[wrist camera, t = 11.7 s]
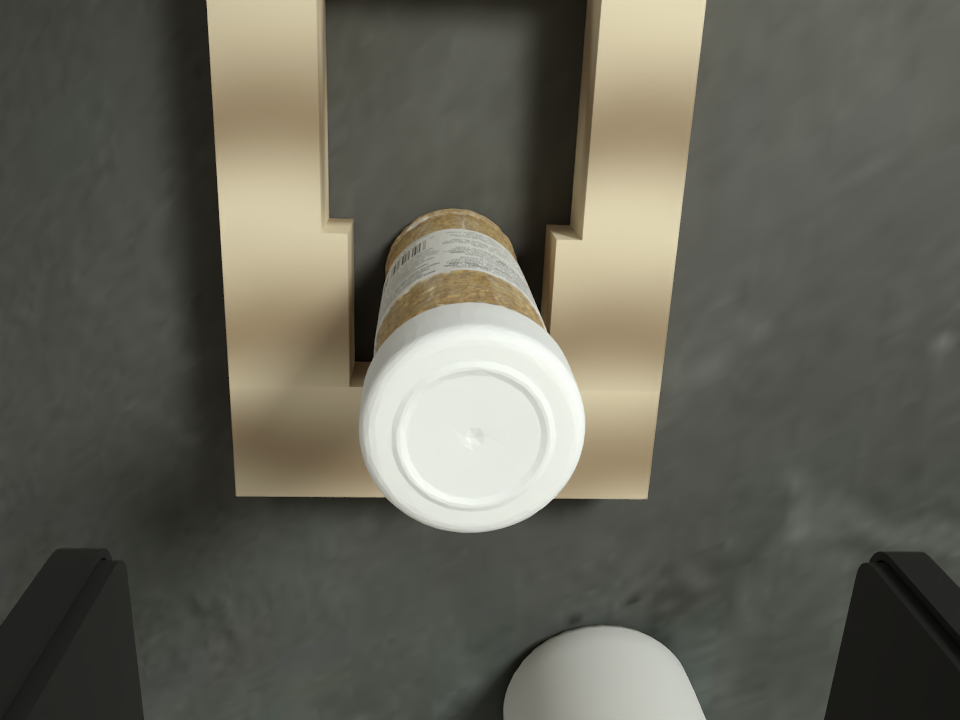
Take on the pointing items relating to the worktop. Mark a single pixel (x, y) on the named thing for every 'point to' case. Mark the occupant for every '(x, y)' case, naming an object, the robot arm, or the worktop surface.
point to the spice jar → (466, 383)
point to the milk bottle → (601, 679)
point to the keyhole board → (330, 245)
